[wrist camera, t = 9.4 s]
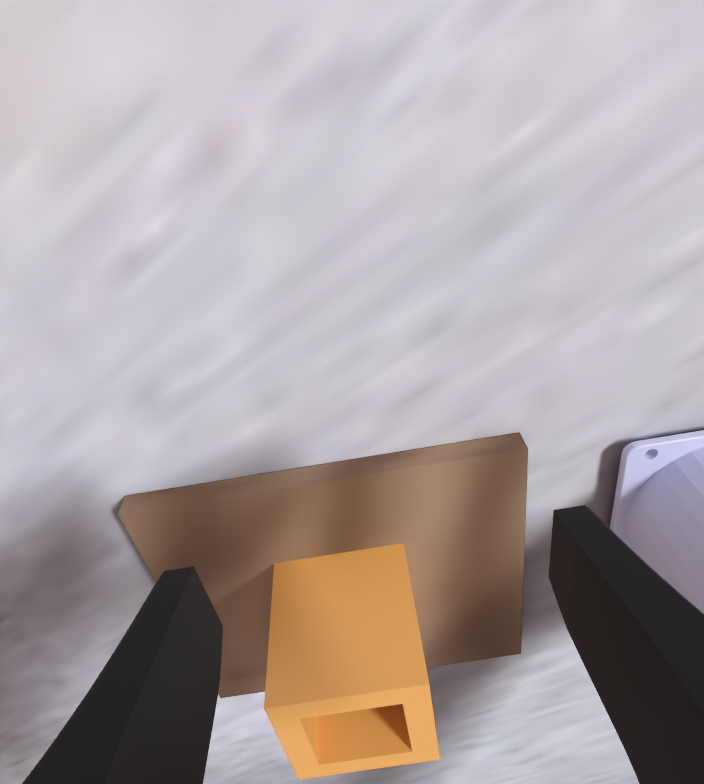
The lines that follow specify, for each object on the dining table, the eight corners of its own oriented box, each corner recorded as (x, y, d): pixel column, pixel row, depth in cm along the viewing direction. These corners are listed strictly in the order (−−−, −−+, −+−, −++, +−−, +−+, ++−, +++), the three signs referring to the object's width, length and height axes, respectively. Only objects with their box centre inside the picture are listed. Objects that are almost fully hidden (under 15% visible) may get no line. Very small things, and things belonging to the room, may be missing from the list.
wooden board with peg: (519, 432, 21) (576, 540, 17) (514, 635, 29) (552, 748, 24) (125, 496, 22) (75, 618, 17) (223, 679, 30) (207, 797, 25)
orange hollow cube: (403, 543, 23) (429, 684, 18) (415, 620, 26) (440, 759, 21) (273, 563, 23) (264, 708, 18) (300, 637, 26) (298, 779, 21)
